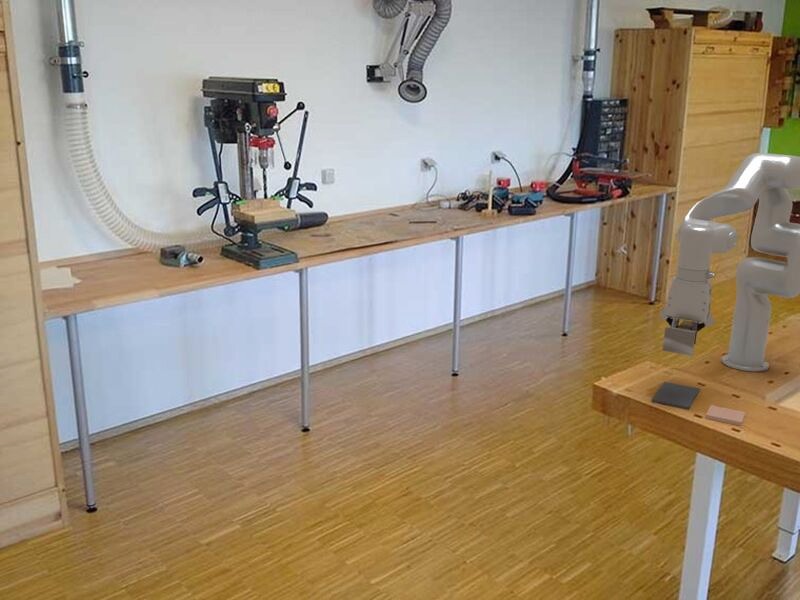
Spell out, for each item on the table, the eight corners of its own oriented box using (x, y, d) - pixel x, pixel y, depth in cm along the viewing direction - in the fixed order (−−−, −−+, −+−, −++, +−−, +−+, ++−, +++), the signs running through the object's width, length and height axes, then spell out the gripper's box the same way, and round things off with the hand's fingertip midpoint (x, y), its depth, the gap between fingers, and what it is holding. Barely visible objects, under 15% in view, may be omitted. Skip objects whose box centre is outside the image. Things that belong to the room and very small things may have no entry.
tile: (710, 405, 195) (706, 414, 189) (745, 412, 191) (741, 422, 185) (709, 410, 195) (705, 420, 189) (744, 417, 191) (740, 428, 185)
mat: (664, 383, 211) (664, 381, 211) (699, 390, 207) (699, 388, 207) (651, 401, 198) (651, 399, 198) (688, 409, 194) (689, 407, 194)
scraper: (673, 337, 206) (676, 315, 204) (701, 342, 203) (704, 319, 201) (662, 350, 195) (665, 327, 193) (691, 355, 192) (694, 332, 190)
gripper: (729, 276, 194) (719, 347, 199) (661, 267, 202) (653, 335, 206) (724, 282, 187) (714, 355, 192) (655, 272, 195) (646, 343, 200)
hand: (682, 344), depth 199 cm, fingers closed on scraper, 3 cm apart
